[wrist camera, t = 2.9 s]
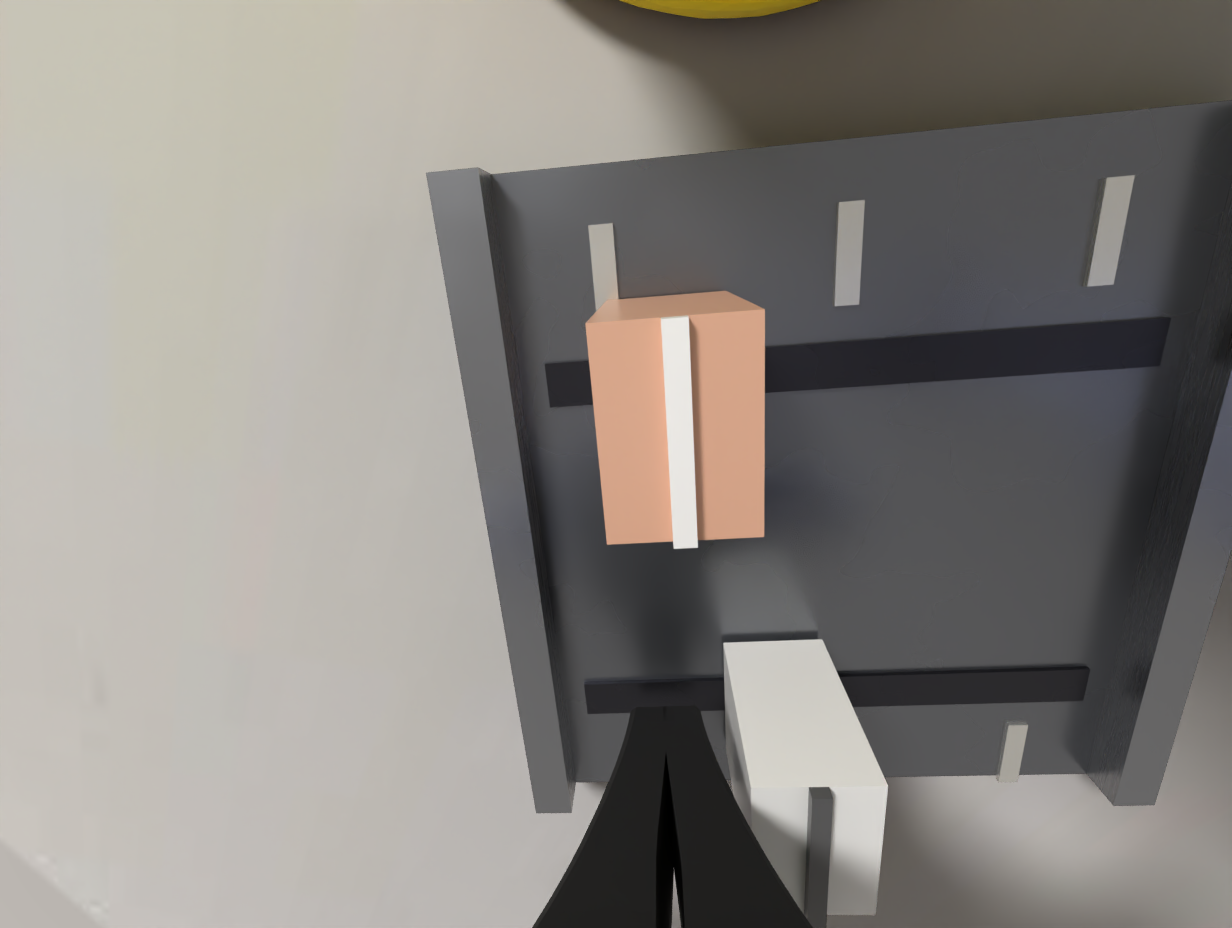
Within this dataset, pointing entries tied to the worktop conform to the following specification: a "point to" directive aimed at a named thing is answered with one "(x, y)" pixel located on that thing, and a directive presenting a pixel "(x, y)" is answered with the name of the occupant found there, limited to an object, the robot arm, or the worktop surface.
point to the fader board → (879, 436)
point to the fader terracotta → (679, 417)
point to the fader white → (805, 775)
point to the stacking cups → (720, 7)
